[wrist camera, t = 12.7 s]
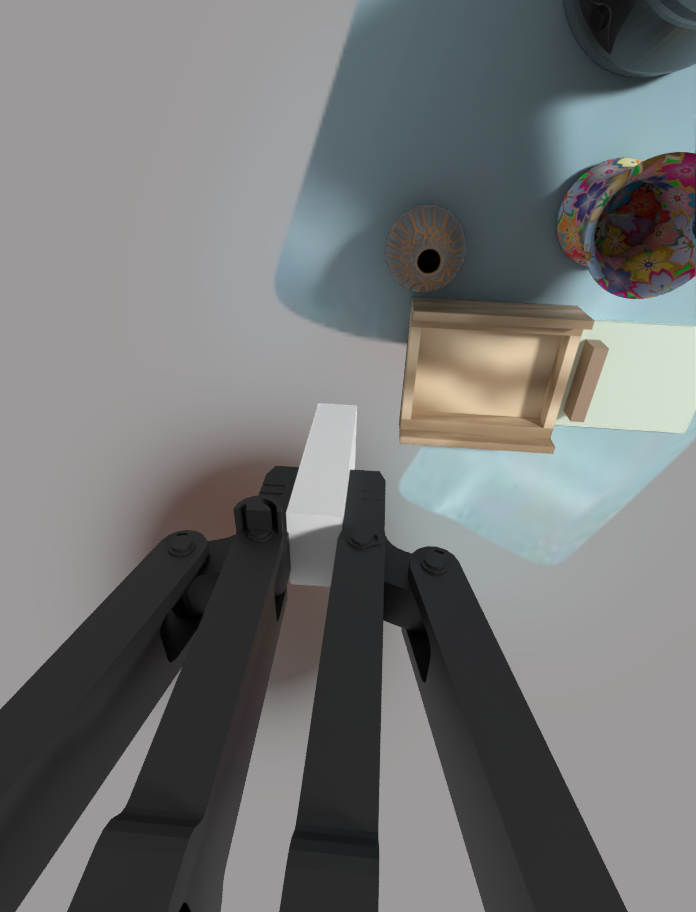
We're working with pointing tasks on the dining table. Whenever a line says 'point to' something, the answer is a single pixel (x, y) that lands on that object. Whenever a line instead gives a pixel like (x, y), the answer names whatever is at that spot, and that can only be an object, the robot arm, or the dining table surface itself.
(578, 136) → the dining table surface
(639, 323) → the lid
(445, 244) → the vase
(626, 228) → the mug
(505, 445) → the box
